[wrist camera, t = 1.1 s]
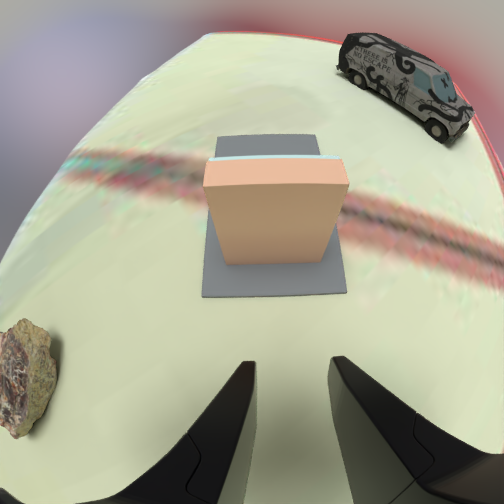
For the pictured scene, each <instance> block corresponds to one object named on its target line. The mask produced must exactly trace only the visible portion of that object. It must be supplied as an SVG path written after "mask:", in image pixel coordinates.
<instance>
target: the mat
mask: <svg viewBox="0 0 504 504" xmlns="http://www.w3.org/2000/svg"><path fill="white" fill-rule="evenodd" d="M255 155H320V151H319V147H318V144H317V140H316V136H315V135H309V134H262V135H237V136H222V137H217V144H216V151H215V158H217V157H233V156H255ZM341 293H347V288H346V280H345V274H344V267H343V261H342V254H341V249H340V243H339V237H338V232H337V226H336V223H335V226H334V229H333V231H332V234H331V236H330V239H329V242H328V244H327V247H326V249H325V252H324V254H323V257H322V259H321V262H317V263H285V264H246V265H226V262H225V259H224V256H223V253H222V249H221V246H220V243H219V240H218V236H217V233H216V230H215V226H214V223H213V220H212V216H211V213H210V209H209V211H208V221H207V232H206V243H205V255H204V268H203V281H202V297H274V296H302V295H323V294H341Z"/></svg>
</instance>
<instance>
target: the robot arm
mask: <svg viewBox="0 0 504 504" xmlns="http://www.w3.org/2000/svg"><path fill="white" fill-rule="evenodd" d="M328 387H329V394H330V401H331V409H332V416H333V422H334V426H335V430H336V434H337V438H338V441H339V445H340V449H341V453H342V457H343V461H344V465H345V469H346V473H347V477H348V481H349V485H350V489H351V493H352V498H353V502H354V504H504V454H490V453H486V452H483V451H480V450H478V449H476V448H474V447H472V446H471V445H469V444H467V443H465V442H463V441H461V440H459V439H458V438H456V437H454V436H452V435H450V434H449V433H447V432H445V431H444V430H442V429H440V428H439V427H437V426H436V425H434V424H433V423H431V422H430V421H429V420H427V419H426V418H424V417H423V416H422V415H420V414H419V413H416V411H415V410H414V409H412V408H411V407H410V406H408V405H407V404H406V403H404V402H403V401H402V400H400V399H399V398H398V397H396V396H395V395H394V394H393V393H391V392H390V391H389V390H387V389H386V388H385V387H383V386H382V385H381V384H380V383H378V382H377V381H376V380H374V379H373V378H372V377H371V376H369V375H368V374H367V373H365V372H364V371H363V370H362V369H360V368H359V367H358V366H357V365H355V364H354V363H353V362H351V361H350V360H349V359H348V358H346V357H345V356H335V357H332V358H331V360H330V365H329V371H328ZM256 425H257V371H256V362H255V361H243V362H242V363H241V364H240V365H239V366H238V368H237V369H236V370H235V372H234V373H233V374H232V376H231V377H230V378H229V380H228V381H227V382H226V384H225V385H224V386H223V387H222V389H221V390H220V391H219V393H218V394H217V395H216V396H215V398H214V399H213V400H212V401H211V403H210V404H209V405H208V406H207V408H206V409H205V410H204V411H203V413H202V414H201V415H200V416H199V418H198V419H197V420H196V421H195V422H194V424H193V425H192V426H191V427H190V428H189V430H188V431H187V433H185V434H184V435H183V437H182V438H181V439H180V440H179V441H178V442H177V443H176V445H175V446H174V447H173V448H172V449H171V450H170V451H169V452H168V453H167V454H166V455H165V456H164V457H163V458H162V459H160V460H159V461H158V462H157V463H156V464H155V465H154V466H152V467H151V468H150V469H149V470H148V471H146V472H145V473H144V474H143V475H141V476H140V477H139V478H138V479H136V480H135V481H134V482H132V483H131V484H130V485H129V486H127V487H126V488H125V489H123V490H122V491H120V492H118V493H117V494H115V495H113V496H110V497H108V498H105V499H101V500H95V501H90V502H84V503H77V504H243V503H244V497H245V492H246V486H247V481H248V475H249V470H250V464H251V458H252V452H253V446H254V440H255V433H256ZM0 504H24V503H22V502H21V501H19V500H18V499H16V498H15V497H14V496H12V495H11V494H10V493H8V492H7V491H6V490H5V489H3V488H0Z"/></svg>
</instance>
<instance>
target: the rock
mask: <svg viewBox="0 0 504 504" xmlns="http://www.w3.org/2000/svg"><path fill="white" fill-rule="evenodd" d="M50 343H51V338H50V336H49V334H48V332H47V331H45V330H44V329H43V328H40V327H38V326H35V325H33V324H32V322H31V321H29V320H27V319H26V318H24V319H22V320H19V321H18V323H17V325H14V326H13V328H10V329H9V330H8V331H7V333H3V332H0V425H1V426H3V427H5V428H6V429H8V430H9V432H10V434H11V435H12V436H13V438H14V439H18V438H19V437H23V436H26V434H28V432H29V430H30V429H31V428H32V426H33V423H34V422H35V421H36V420H37V419H39V418H40V417H41V416H42V414H43V413H44V410H45V408H46V406H47V404H48V401H49V400H50V398H51V395H52V393H53V391H54V389H55V385H56V381H57V374H56V360H55V359H53V358H51V356H50V354H49V353H50V352H49V349H50Z"/></svg>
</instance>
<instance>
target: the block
mask: <svg viewBox="0 0 504 504" xmlns="http://www.w3.org/2000/svg"><path fill="white" fill-rule="evenodd" d="M348 187H349V181H348V177H347V174H346V171H345V167H344V164H343V161H342V159H340V158H339V156H327V155H255V156H233V157H217V158H209V161H207V162H206V169H205V176H204V183H203V189H204V192H205V196H206V199H207V203H208V206H209V209H210V213H211V216H212V220H213V223H214V226H215V230H216V233H217V236H218V240H219V243H220V246H221V249H222V253H223V256H224V259H225V262H226V265H246V264H285V263H317V262H321V259H322V257H323V254H324V252H325V249H326V247H327V244H328V242H329V239H330V236H331V234H332V231H333V229H334V226H335V223H336V221H337V218H338V215H339V212H340V210H341V207H342V204H343V201H344V199H345V196H346V193H347V190H348Z"/></svg>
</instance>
